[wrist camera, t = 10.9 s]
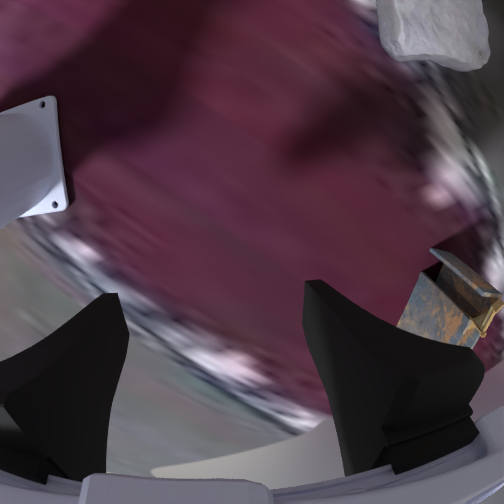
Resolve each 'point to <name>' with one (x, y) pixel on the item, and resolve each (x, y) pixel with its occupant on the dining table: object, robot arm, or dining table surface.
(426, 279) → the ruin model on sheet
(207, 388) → the dining table surface
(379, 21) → the stone block
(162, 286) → the dining table surface
